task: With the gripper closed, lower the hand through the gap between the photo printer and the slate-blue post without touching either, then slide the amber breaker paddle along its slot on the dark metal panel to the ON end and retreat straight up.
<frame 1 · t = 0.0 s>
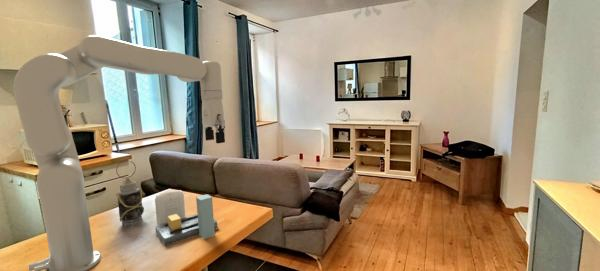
hand: (215, 141, 105), 31 cm above the table, fingers open, 9 cm apart
breaker paddle: (174, 221, 97), point 5 cm above the table, slide at 0.0 cm
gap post: (206, 235, 97), on the table
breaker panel: (187, 230, 101), on the table
photo printer: (171, 221, 108), on the table
lantern: (132, 223, 107), on the table
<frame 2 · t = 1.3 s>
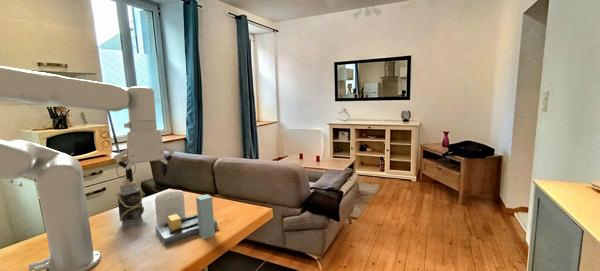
hand: (147, 177, 91), 22 cm above the table, fingers open, 9 cm apart
nothing on the table moved.
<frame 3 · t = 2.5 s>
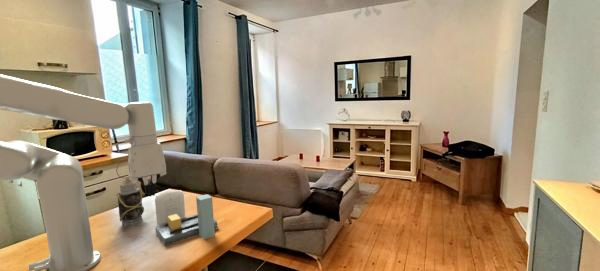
hand: (151, 194, 92), 16 cm above the table, fingers closed
nothing on the table moved.
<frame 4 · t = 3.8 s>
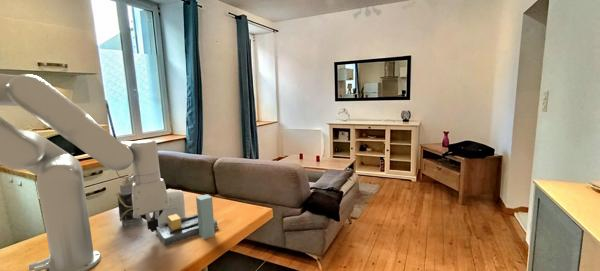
hand: (153, 229, 93), 4 cm above the table, fingers closed
nothing on the table moved.
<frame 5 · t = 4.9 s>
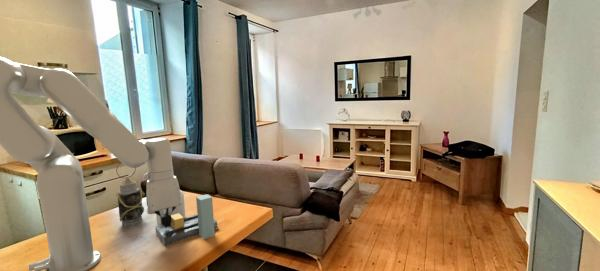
hand: (166, 225, 96), 4 cm above the table, fingers closed
breaker paddle: (177, 221, 98), point 5 cm above the table, slide at 0.9 cm, touching gripper
everything else where it was.
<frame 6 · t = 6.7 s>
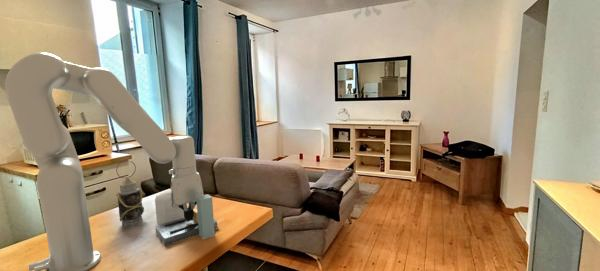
hand: (189, 219, 101), 4 cm above the table, fingers closed
breaker paddle: (198, 214, 103), point 5 cm above the table, slide at 8.6 cm, touching gripper
everything else where it was.
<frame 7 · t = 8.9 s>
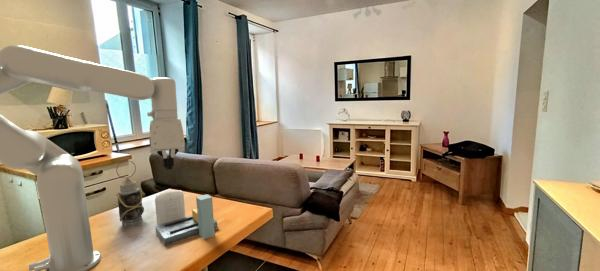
hand: (168, 168, 95), 24 cm above the table, fingers closed
breaker paddle: (198, 214, 103), point 5 cm above the table, slide at 8.6 cm
everything else where it was.
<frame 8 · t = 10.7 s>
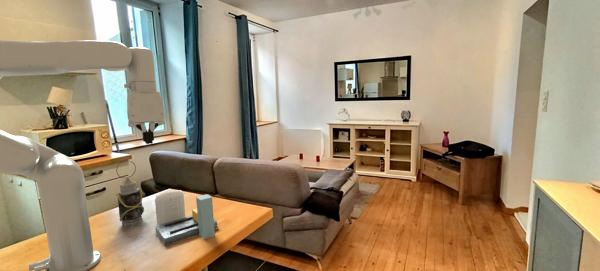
hand: (148, 143, 92), 33 cm above the table, fingers closed
nothing on the table moved.
at the end: breaker paddle slide at 8.6 cm; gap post moved 0.0 cm from its start; photo printer moved 0.2 cm from its start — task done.
